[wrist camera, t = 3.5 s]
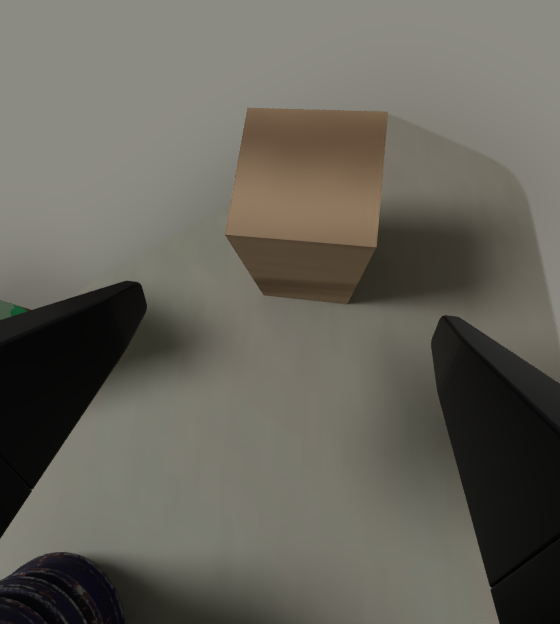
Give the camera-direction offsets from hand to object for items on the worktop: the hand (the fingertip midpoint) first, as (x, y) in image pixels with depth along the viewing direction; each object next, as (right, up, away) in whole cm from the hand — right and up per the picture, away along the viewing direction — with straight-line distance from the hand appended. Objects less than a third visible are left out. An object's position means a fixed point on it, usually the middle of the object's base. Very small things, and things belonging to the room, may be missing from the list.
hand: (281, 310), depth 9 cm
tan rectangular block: (+2, +4, +13) cm, 14 cm away
